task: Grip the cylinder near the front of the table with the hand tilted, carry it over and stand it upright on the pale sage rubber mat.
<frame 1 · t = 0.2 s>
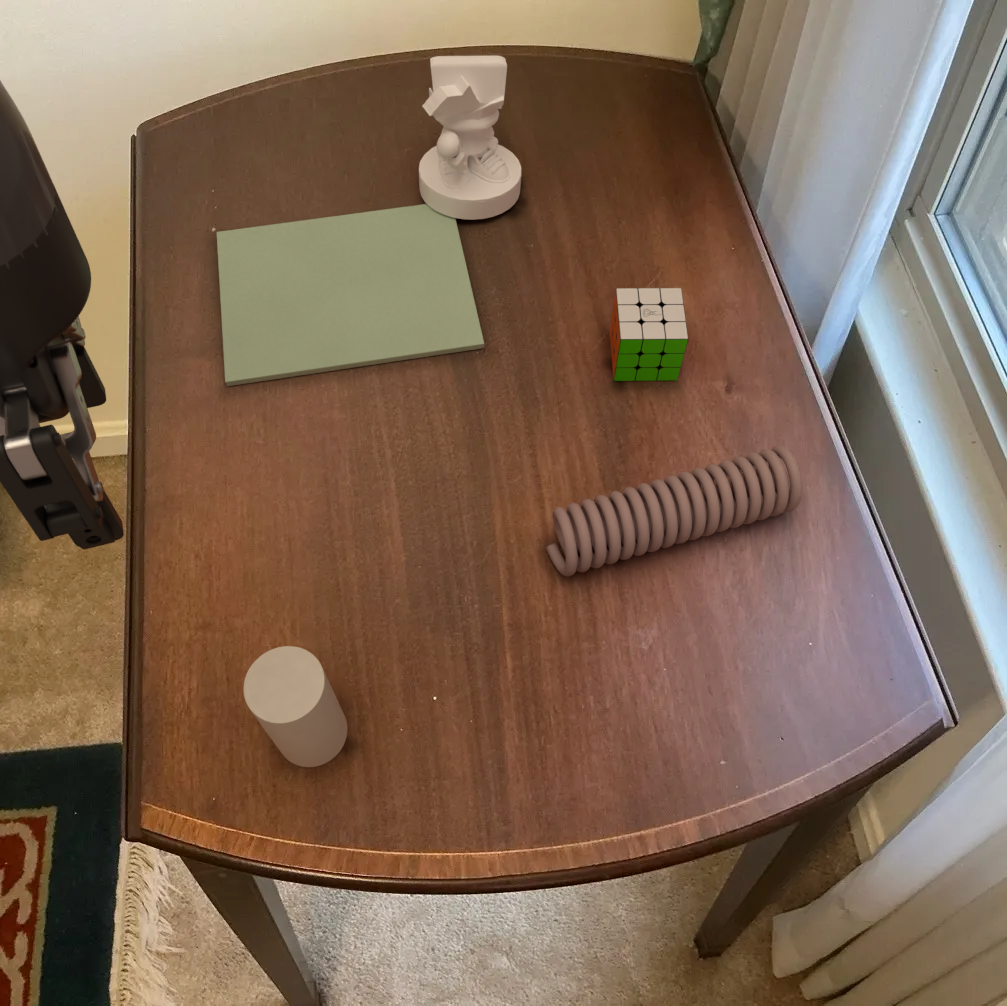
hand: (94, 467, 48), 19 cm above the table, tool pointing down, fingers open, 8 cm apart
mat: (346, 290, 78), on the table
cylinder: (312, 732, 60), on the table
rubik's cube: (642, 357, 75), on the table
character figurine: (469, 185, 84), on the table, touching mat
coil: (670, 527, 68), on the table
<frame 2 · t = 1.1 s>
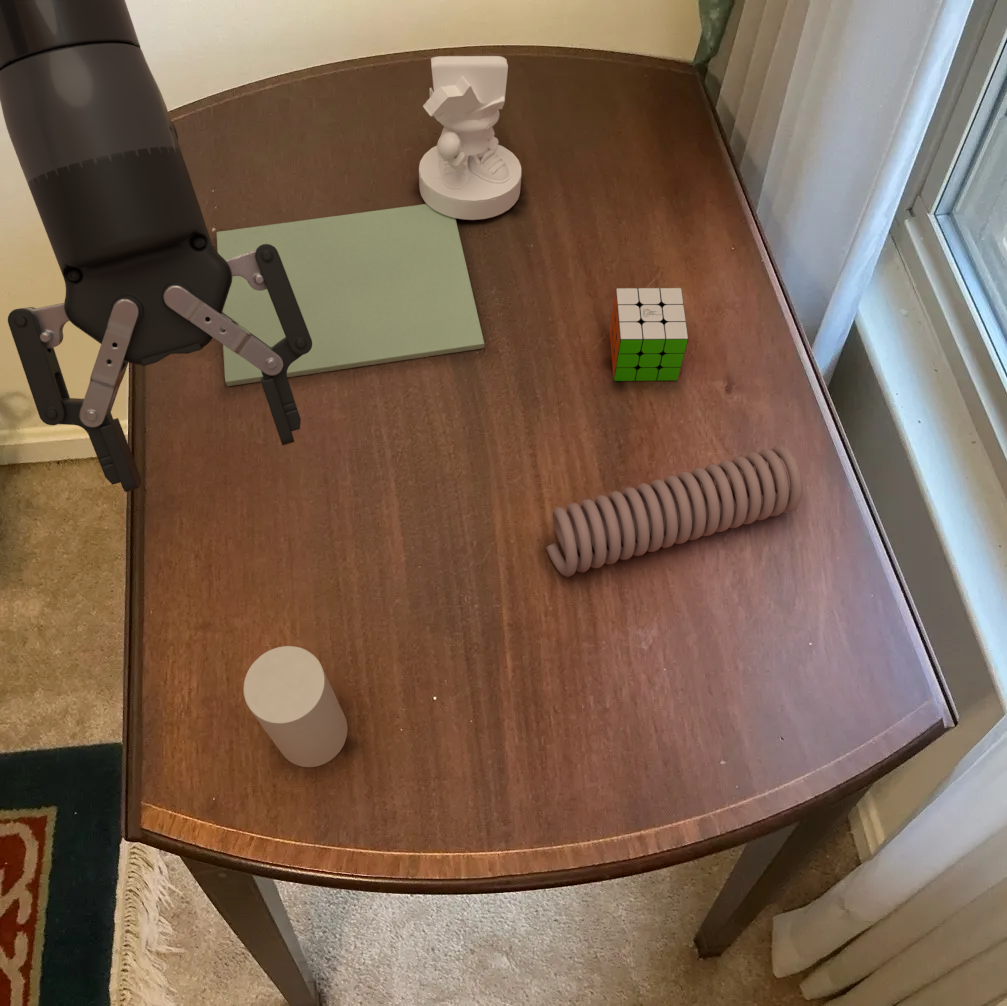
hand: (212, 464, 53), 15 cm above the table, tool tilted 45°, fingers open, 8 cm apart
nothing on the table moved.
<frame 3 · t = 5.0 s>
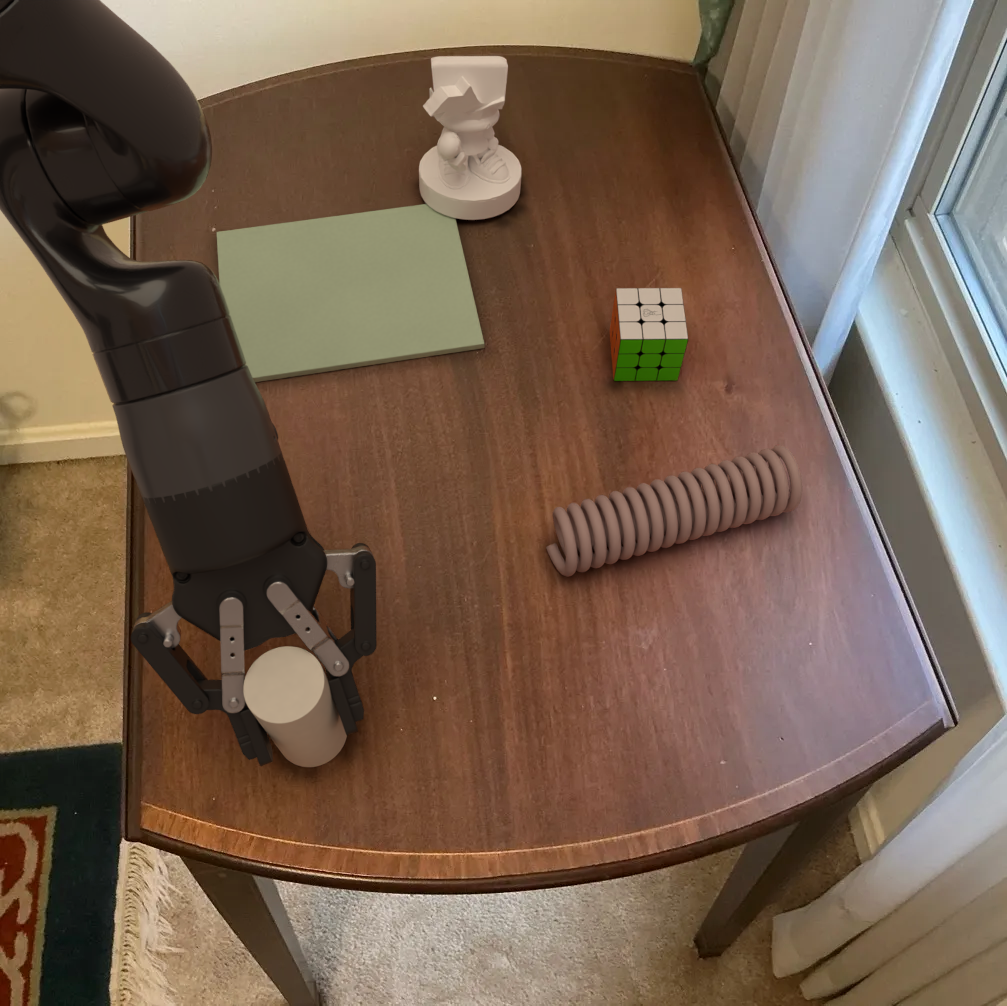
hand: (309, 741, 56), 4 cm above the table, tool tilted 45°, fingers closed on cylinder, 4 cm apart
cylinder: (312, 732, 60), on the table, touching gripper
everything else where it was.
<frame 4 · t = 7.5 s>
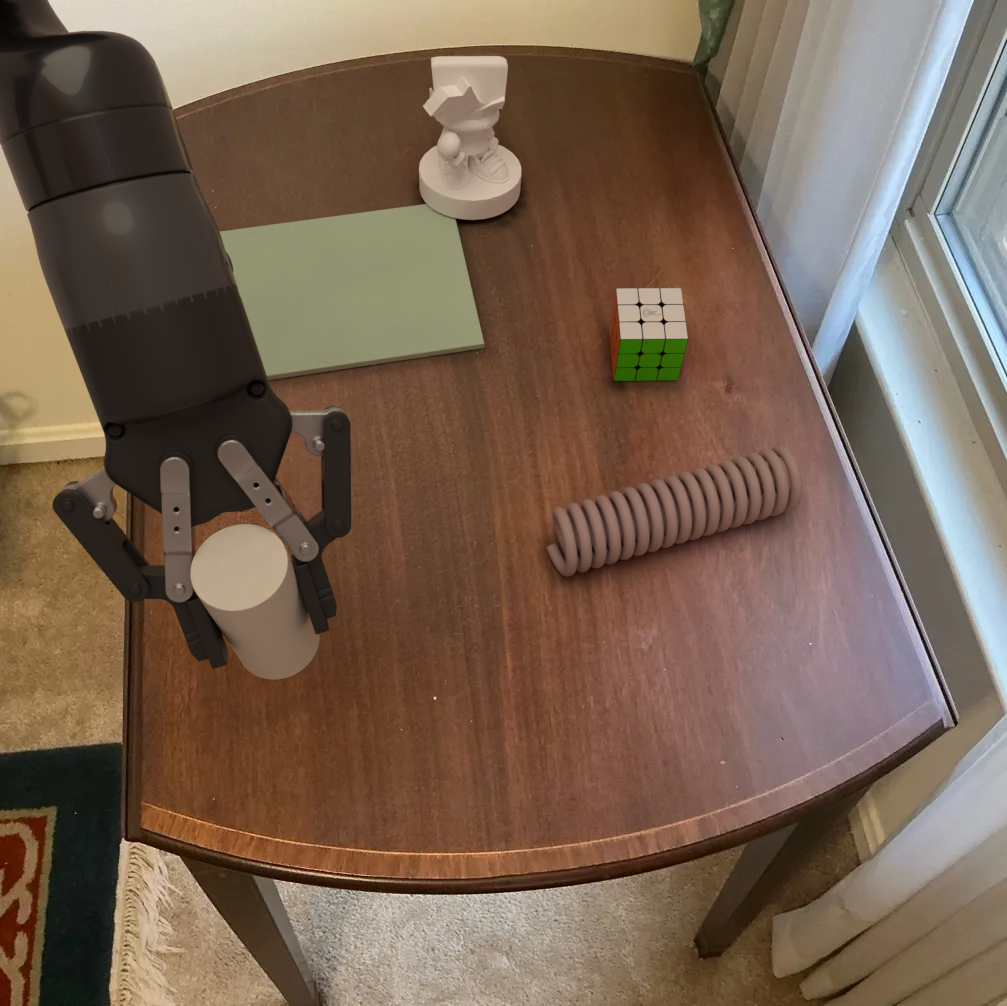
hand: (271, 642, 47), 15 cm above the table, tool tilted 45°, fingers closed on cylinder, 4 cm apart
cylinder: (278, 640, 51), point 11 cm above the table, touching gripper
everything else where it was.
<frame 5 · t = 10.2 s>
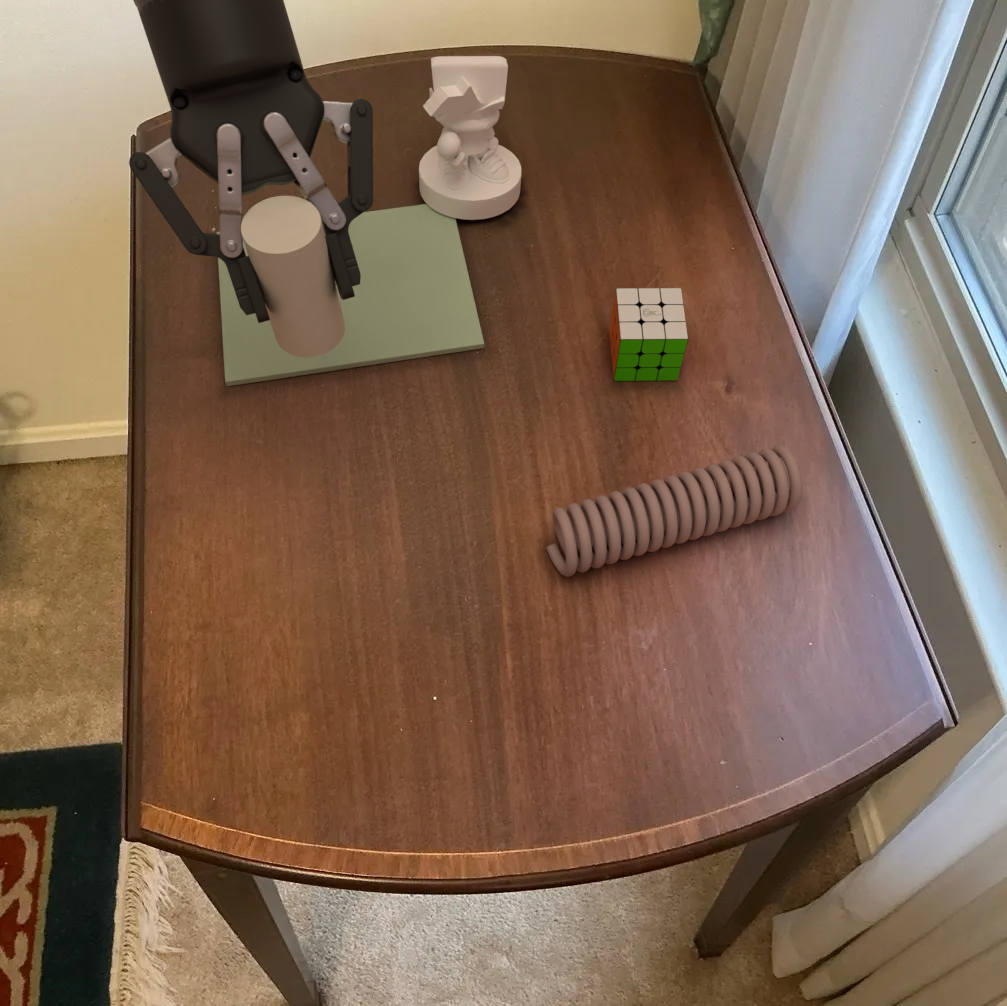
hand: (306, 307, 56), 16 cm above the table, tool tilted 45°, fingers closed on cylinder, 4 cm apart
cylinder: (310, 330, 61), point 12 cm above the table, touching gripper
everything else where it was.
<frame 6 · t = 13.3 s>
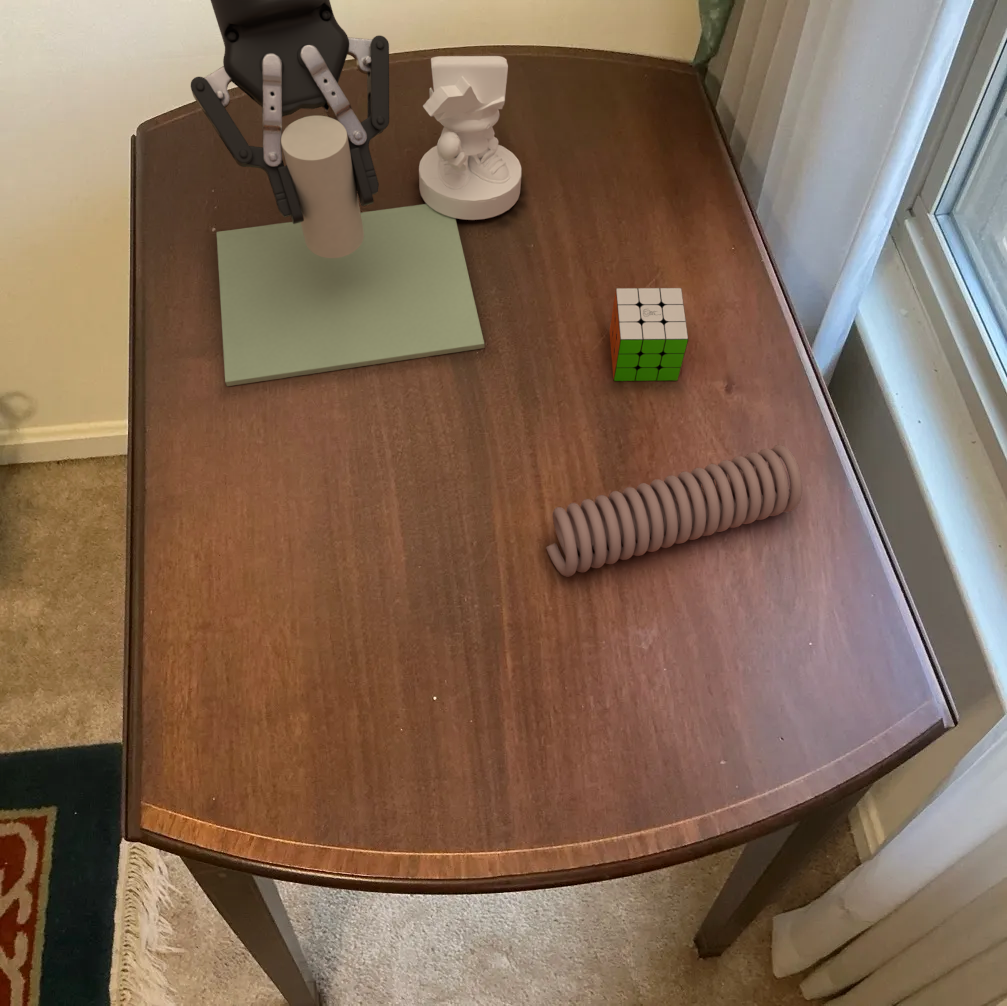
hand: (333, 211, 68), 11 cm above the table, tool tilted 45°, fingers closed on cylinder, 4 cm apart
cylinder: (334, 236, 72), point 7 cm above the table, touching gripper
everything else where it was.
when the fingers open (5 cm above the table, at t = 15.4 s): cylinder stays where it is, resting on mat.
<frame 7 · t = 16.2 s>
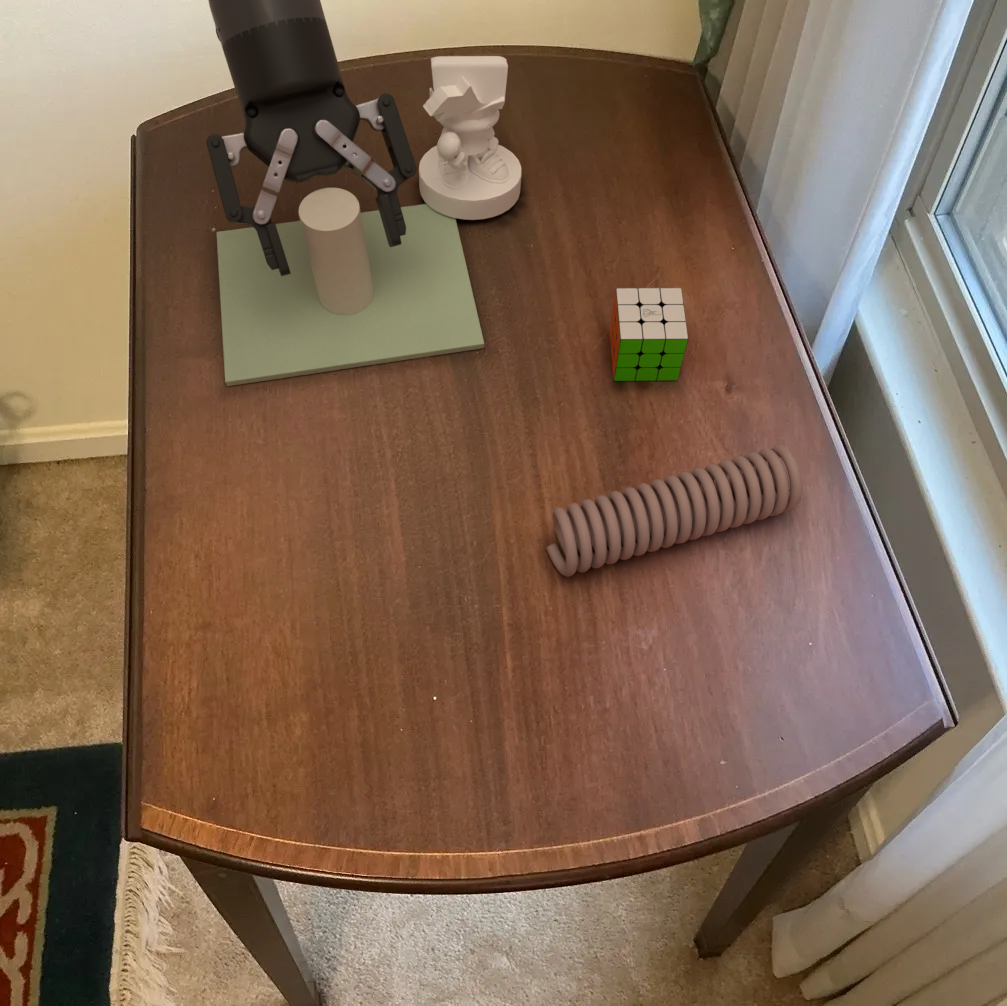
hand: (341, 260, 72), 6 cm above the table, tool tilted 45°, fingers open, 8 cm apart
cylinder: (346, 294, 77), point 1 cm above the table, touching mat
everything else where it was.
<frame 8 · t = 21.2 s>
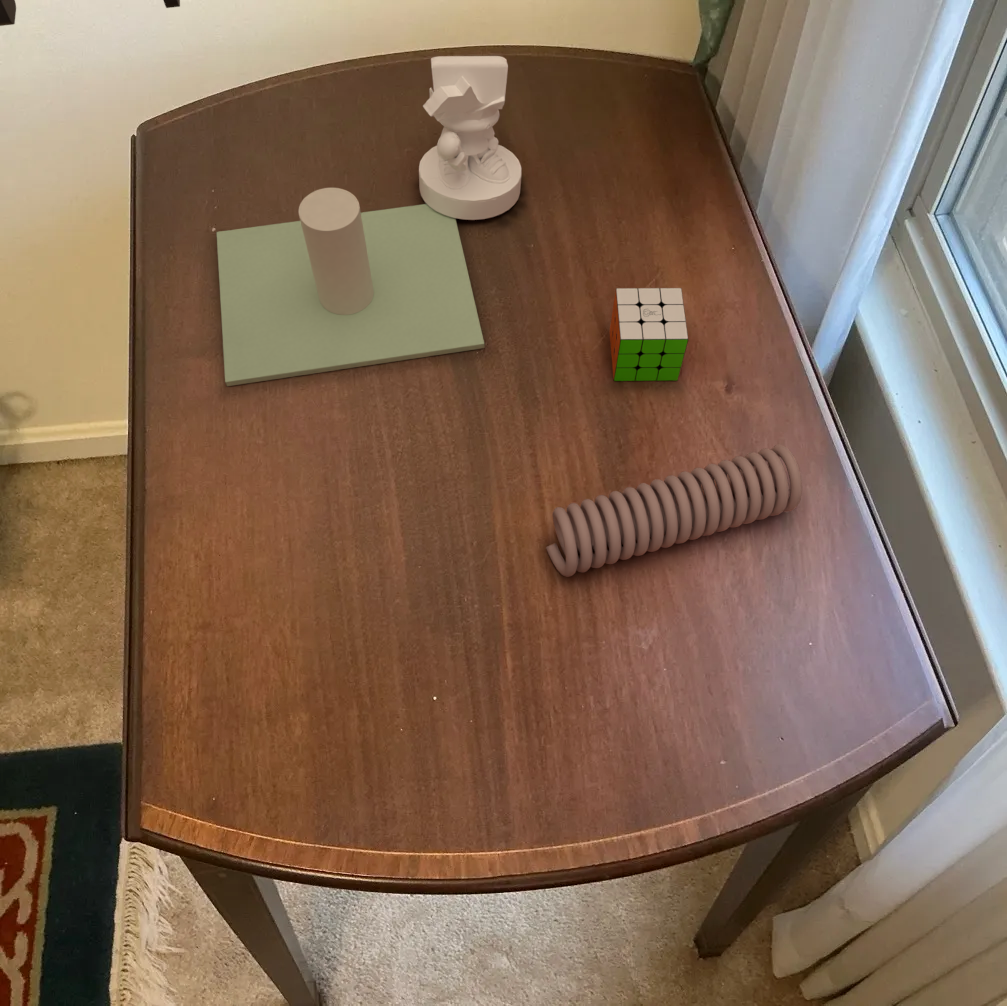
hand: (92, 7, 51), 28 cm above the table, tool pointing down, fingers open, 8 cm apart
nothing on the table moved.
at the end: cylinder inside the target area on the mat (1.0 cm from its centre), point 0.6 cm above the mat's base; cylinder tilted 0°; the gripper is holding nothing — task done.
